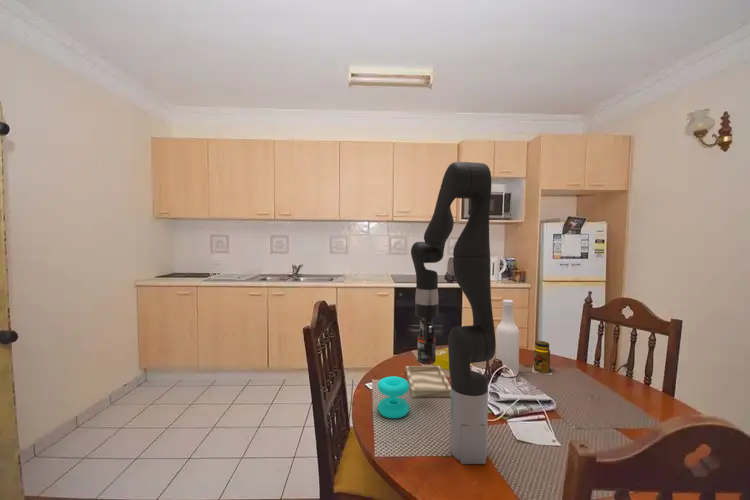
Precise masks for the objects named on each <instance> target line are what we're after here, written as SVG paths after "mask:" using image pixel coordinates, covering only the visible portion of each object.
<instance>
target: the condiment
mask: <svg viewBox="0 0 750 500" xmlns="http://www.w3.org/2000/svg"><path fill="white" fill-rule="evenodd" d="M534 344H535V345H534V349H533V365H532V371H531V372H532V373H535V374H541V375H546V376H547V375H549V376H553V367H551V350H550V343H549V342H548V341H544V340H537V341H535V343H534Z"/></svg>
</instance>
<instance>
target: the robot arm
mask: <svg viewBox="0 0 750 500" xmlns="http://www.w3.org/2000/svg"><path fill="white" fill-rule="evenodd" d="M440 184H441V185H440V189H439V191H438V194H437V200H436V202H435V203H436V204H435V207H434V210H433V214H432V217H431V219H430V221H429V223H428V225H427V228H426V230H425V232H424V234H423V240H424V241H416V242H414V243H413V245H412V246H411V249H410V255H411V259H412V263H413V267H414V272H415V277H416V278H415V279H416V280H415V282H416V283H415V285H416V289H415V296H414V298H415V302H414V303H415V307H414V308H415V310H414V311H415V312H414V314H415V316H416V317H418V318H419V330H420V329H421V328H422V333H423V337H424V343H425V355H426V356H428V355H432V344H434V336H435V326H434V322H433V319H434V318H437V317H439V291H438V290H439V289H438V285H439V281H438V278H439V276H438V271H436V270H431V269H428V268H426V266H425V264H435V263H439V262H440V261H441V260H443V258H444V253H445V252H444V251H445V247H446V246H445V245H446V243H447V240H448V239H449V237H450V235H451V233H452V231H453V229H454V224H455V222H454V216H453V212H452V209H451V208H452V207H451V205H452V203H453V202H454V201H455V199H466V200H467V199H468V200H470V210H469V216H468V219H467V221H466V224H465V226H464V228H463V230H462V231H461V233H460V234H459V237H458V238H457V240H456V242H455V245H454V247H453V253H452V254H453V255H452V256H453V258H452V259H453V260H452V262H453V276H454V279H455V280H456V282H457V284H458V286H459V288H460V289H461V291H462V292H463V294H464V296H465V298H467V300H468V302H469V305H470V307H471V312H472V325H464V326H455V327H452V328H451V330H450V331H449V334H448V338H447V340H448V341H447V347H448V353H449V378H450V386H451V398H450V429H449V430H450V433H449V435H450V442H449V443H450V446H449V447H450V453H451V455H452V456H453V458H455V459H457V460H458V462H459V463H460V464H461V465H485V464H487V457H488V409H489V407H488V406H489V404H488V401H489V399H488V398H489V382H488V381H489V380H488V378H487V377H486V376H484V375H483V374H482V373H480V372H478V371H474V370H471V366H470V363H473V364H475V363H484V362H489V361H491V360H492V359H493V358H494V356H495V355H496V330H495V324H494V323H495V322H494V316H493V307H492V306H493V305H492V292H491V291H492V288H491V286H492V284H491V283H492V282H491V269H492V268H491V267H492V266H491V246H490V214H491V213H490V212H491V201H492V199H491V198H492V173H491V169H490V168H489V166H488V165H487V163H482V162H469V161H455V162H452V163H450V164H449V165H448V166H447V168H446V170H445V172H444V175H443V176H442V181H441V183H440ZM425 333H426V334H425ZM428 337H430V340H428Z"/></svg>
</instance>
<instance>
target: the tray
mask: <svg viewBox="0 0 750 500" xmlns="http://www.w3.org/2000/svg"><path fill="white" fill-rule="evenodd" d="M405 374H406V378H407V379H406V380H407V382H408V383H409V392H410V395H411V398H412V399H434V398H437V399H441V398H443V399H444V398H448V399H449V398H450V399H451V383H450V382H449V381H448V379H447V376H446V375H445V373H444V372H443V368H441V367H440V366H435V365H405Z"/></svg>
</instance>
